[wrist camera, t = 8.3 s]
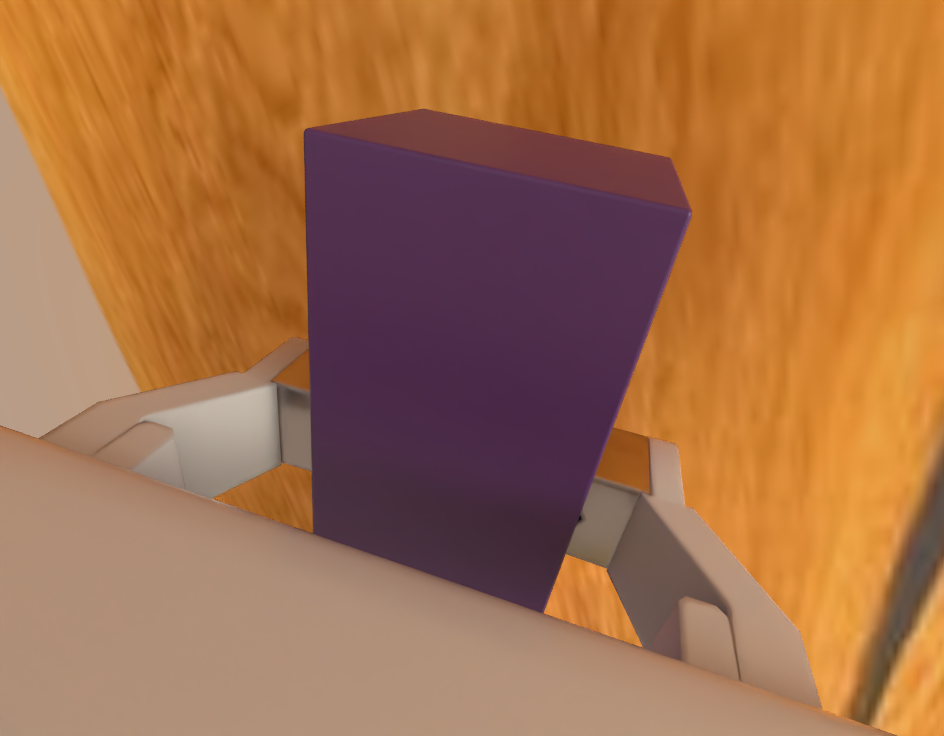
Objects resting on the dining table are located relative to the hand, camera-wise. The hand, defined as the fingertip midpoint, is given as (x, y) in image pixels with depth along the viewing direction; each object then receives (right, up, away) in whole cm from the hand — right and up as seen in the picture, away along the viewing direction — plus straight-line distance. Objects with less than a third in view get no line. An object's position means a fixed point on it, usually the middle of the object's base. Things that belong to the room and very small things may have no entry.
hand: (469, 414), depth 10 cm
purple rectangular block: (+1, +1, +2) cm, 2 cm away
